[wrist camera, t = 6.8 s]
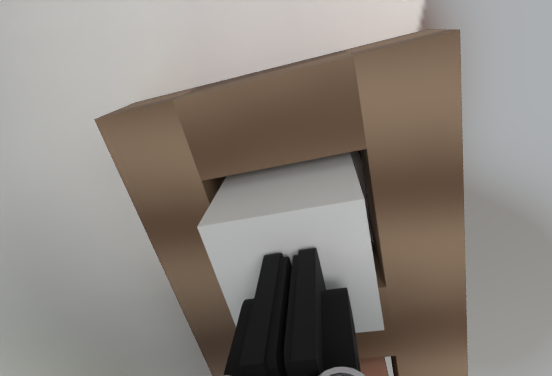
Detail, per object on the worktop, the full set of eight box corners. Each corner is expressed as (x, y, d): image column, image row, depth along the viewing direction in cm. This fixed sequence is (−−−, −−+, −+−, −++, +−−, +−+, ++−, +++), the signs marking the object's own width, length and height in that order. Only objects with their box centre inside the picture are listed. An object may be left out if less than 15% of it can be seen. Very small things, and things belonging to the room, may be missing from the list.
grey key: (226, 175, 14) (197, 226, 10) (350, 151, 13) (364, 198, 9) (258, 272, 16) (242, 343, 12) (367, 257, 15) (384, 329, 11)
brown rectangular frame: (134, 102, 15) (94, 119, 12) (427, 29, 12) (459, 29, 10) (263, 420, 23) (256, 471, 20) (449, 410, 21) (469, 467, 18)
